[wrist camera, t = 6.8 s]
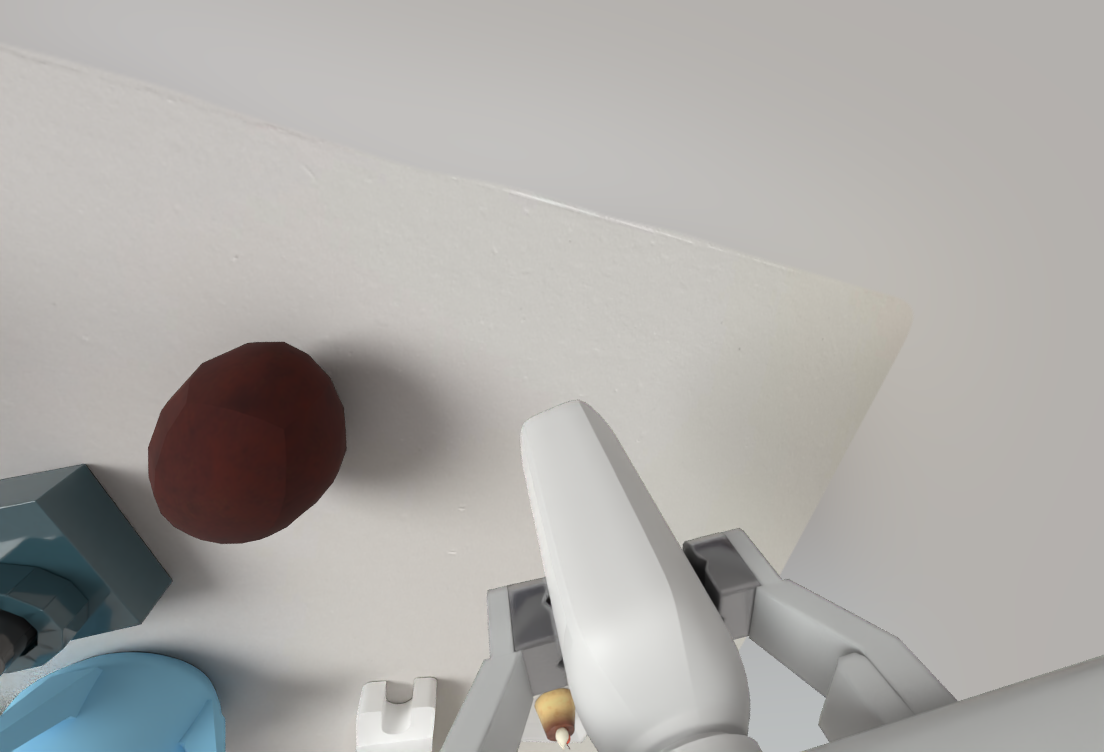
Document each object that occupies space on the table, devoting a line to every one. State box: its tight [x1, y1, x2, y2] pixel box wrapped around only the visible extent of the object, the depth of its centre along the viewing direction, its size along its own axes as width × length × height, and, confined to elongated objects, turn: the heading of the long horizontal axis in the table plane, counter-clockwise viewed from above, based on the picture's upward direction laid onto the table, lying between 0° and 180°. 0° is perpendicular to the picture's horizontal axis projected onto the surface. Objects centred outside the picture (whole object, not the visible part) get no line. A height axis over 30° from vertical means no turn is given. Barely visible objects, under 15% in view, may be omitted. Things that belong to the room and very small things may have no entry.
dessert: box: [521, 675, 587, 750], centre depth 45 cm, size 12×12×5 cm
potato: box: [148, 342, 346, 544], centre depth 24 cm, size 9×12×9 cm
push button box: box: [0, 464, 172, 673], centre depth 26 cm, size 11×10×6 cm
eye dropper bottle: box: [520, 400, 762, 752], centre depth 10 cm, size 4×6×12 cm
